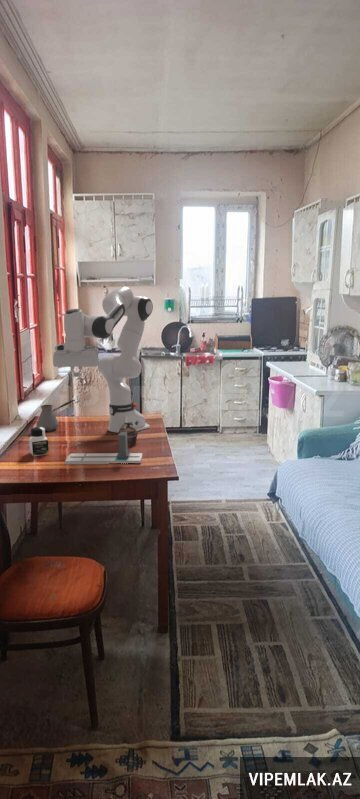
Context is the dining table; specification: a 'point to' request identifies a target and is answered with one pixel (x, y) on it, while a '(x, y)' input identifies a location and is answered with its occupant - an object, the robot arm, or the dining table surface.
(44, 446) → the medicine bottle
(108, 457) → the console track
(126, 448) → the fader cap
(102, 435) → the dining table surface
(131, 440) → the cupcake
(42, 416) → the coffee pot
